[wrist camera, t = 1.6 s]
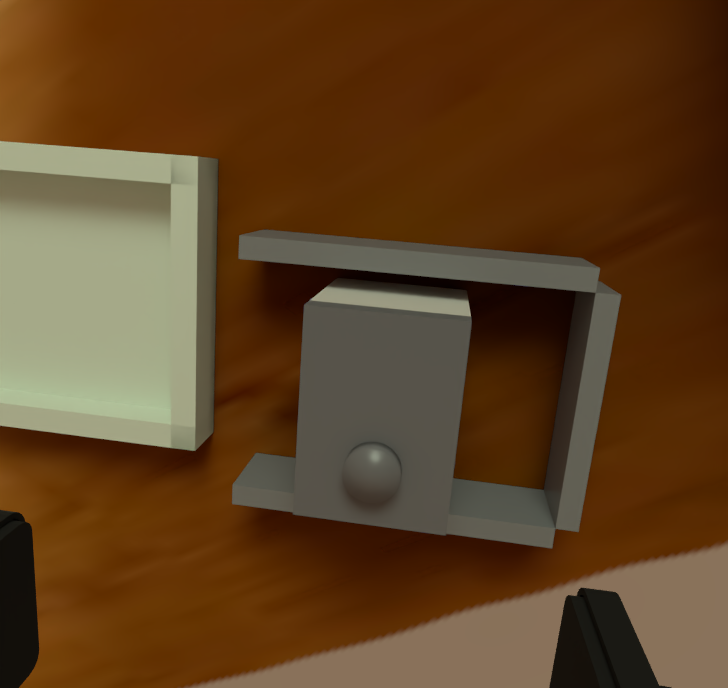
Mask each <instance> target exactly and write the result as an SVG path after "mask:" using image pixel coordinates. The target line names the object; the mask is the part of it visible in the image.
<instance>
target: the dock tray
mask: <svg viewBox="0 0 728 688" xmlns="http://www.w3.org/2000/svg"><path fill="white" fill-rule="evenodd" d="M217 200H218V159H214V158H205V157H196V156H183V155H170V154H157V153H144V152H131V151H118V150H105V149H92V148H79V147H66V146H54V145H41V144H28V143H15V142H2V141H0V426H7V427H15V428H22V429H30V430H38V431H45V432H53V433H61V434H68V435H76V436H84V437H91V438H99V439H107V440H114V441H122V442H130V443H137V444H145V445H153V446H160V447H168V448H176V449H183V450H191V451H196V450H197V449H198V448H199V446H200V445H201V444H202V443H203V442H204V441H205V440H206V439H207V438H208V437H209V436H210V435H211V434H212V433H213V426H214V370H215V313H216V256H217Z"/></svg>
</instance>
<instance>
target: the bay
mask: <svg viewBox="0 0 728 688" xmlns="http://www.w3.org/2000/svg"><path fill="white" fill-rule="evenodd" d="M239 259H247V260H257V261H268V262H278V263H289V264H299V265H310V266H320V267H331V268H341V269H352V270H362V271H373V272H383V273H394V274H405V275H415V276H426V277H436V278H447V279H457V280H468V281H478V282H489V283H499V284H510V285H520V286H531V287H541V288H552V289H562V290H573V291H576V295H575V301H574V307H573V313H572V319H571V325H570V332H569V338H568V344H567V350H566V356H565V362H564V368H563V374H562V381H561V387H560V393H559V399H558V405H557V411H556V417H555V424H554V430H553V436H552V442H551V448H550V454H549V460H548V467H547V473H546V479H545V485H544V490H539V489H531V488H524V487H516V486H508V485H501V484H493V483H485V482H477V481H470V480H462V479H454V478H453V481H452V489H451V498H450V506H449V514H448V522H447V531H446V534H452V535H459V536H467V537H474V538H481V539H488V540H495V541H503V542H510V543H517V544H524V545H531V546H538V547H546V548H552V546H553V540H554V534H555V529H561V530H569V531H576V532H578V531H579V525H580V520H581V514H582V509H583V503H584V498H585V492H586V486H587V481H588V475H589V470H590V464H591V459H592V453H593V448H594V442H595V437H596V431H597V426H598V420H599V415H600V409H601V404H602V398H603V393H604V387H605V382H606V376H607V371H608V365H609V360H610V354H611V349H612V343H613V338H614V332H615V327H616V321H617V316H618V310H619V305H620V299H621V295H620V294H619V293H617V292H616V291H614V290H612V289H611V288H609V287H608V286H606V285H605V284H603V283H602V282H599V281H598V277H599V271H600V268H599V267H597V266H595V265H593V264H591V263H590V262H588V261H586V260H584V259H582V258H576V257H565V256H554V255H543V254H531V253H520V252H509V251H498V250H487V249H476V248H464V247H453V246H442V245H431V244H420V243H408V242H397V241H386V240H375V239H364V238H353V237H341V236H330V235H319V234H308V233H297V232H286V231H274V230H260V231H256V232H252V233H247V234H243V235H239ZM295 465H296V458H292V457H284V456H277V455H269V454H261V453H256V454H255V455H254V456H253V458H252V459H251V461H250V462H249V463H248V465H247V466H246V467H245V469H244V470H243V471H242V473H241V474H240V476H239V477H238V478H237V480H236V481H235V482H234V484H233V492H232V504H237V505H244V506H251V507H258V508H265V509H272V510H280V511H287V512H293V502H294V484H295Z"/></svg>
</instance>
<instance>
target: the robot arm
mask: <svg viewBox="0 0 728 688" xmlns="http://www.w3.org/2000/svg"><path fill="white" fill-rule="evenodd" d="M38 655H39V639H38V622H37V605H36V589H35V572H34V555H33V538H32V528H31V526H30V524H29V523H27V522H25V519H24V517H23V516H22V514H20V513H18V512H11V511H3V510H0V688H19V687H20V685H21V684H22V683H23V682H24V681H25V679H26V678H27V677H28V676H29V675H30V673H31V672H32V670H33V669H34V667H35V665H36V662H37V659H38ZM550 688H671V687H665V686H659V684H658V682H657V680H656V678H655V675H654V673H653V671H652V669H651V666H650V664H649V662H648V659H647V657H646V655H645V653H644V651H643V648H642V646H641V644H640V642H639V639H638V637H637V635H636V633H635V630H634V628H633V626H632V624H631V621H630V619H629V617H628V615H627V613H626V610H625V608H624V606H623V603H622V601H621V599H620V597H619V595H618V594H617V593H616V592H610V591H603V590H594V589H587V588H580V589H579V591H578V593H577V596H571V595H568V596H567V597H566V600H565V604H564V610H563V615H562V621H561V626H560V631H559V637H558V643H557V648H556V654H555V659H554V665H553V671H552V676H551V682H550Z"/></svg>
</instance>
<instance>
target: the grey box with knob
mask: <svg viewBox="0 0 728 688" xmlns="http://www.w3.org/2000/svg"><path fill="white" fill-rule="evenodd" d="M471 325H472V320H471V313H470V307H469V301H468V295H467V290H461V289H450V288H440V287H430V286H419V285H409V284H398V283H388V282H377V281H367V280H357V279H346V278H337V279H335V280H334V281H333V282H332V283H330V284H329V285H328V286H327V287H326V288H324V289H323V290H322V291H321V292H319V293H318V294H317V295H316V296H314V297H313V298H312V299H311V300H309V301H308V302H307V303H306V304H305V305H304V314H303V333H302V352H301V371H300V390H299V408H298V427H297V446H296V465H295V484H294V502H293V515H300V516H307V517H315V518H322V519H329V520H336V521H344V522H351V523H358V524H365V525H373V526H380V527H387V528H394V529H402V530H409V531H416V532H423V533H431V534H438V535H445V536H446V531H447V522H448V514H449V506H450V498H451V489H452V481H453V473H454V465H455V457H456V448H457V440H458V432H459V424H460V415H461V407H462V399H463V391H464V383H465V374H466V366H467V358H468V350H469V341H470V333H471Z"/></svg>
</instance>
